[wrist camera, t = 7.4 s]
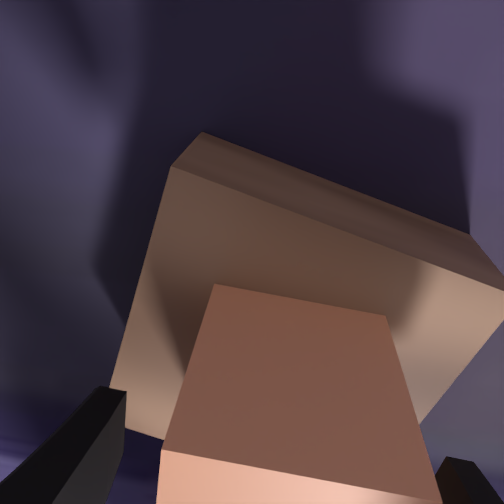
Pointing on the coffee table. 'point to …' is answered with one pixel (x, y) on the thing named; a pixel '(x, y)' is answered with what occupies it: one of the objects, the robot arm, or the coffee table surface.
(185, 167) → the walnut block
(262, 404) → the terracotta cube
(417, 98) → the coffee table surface
